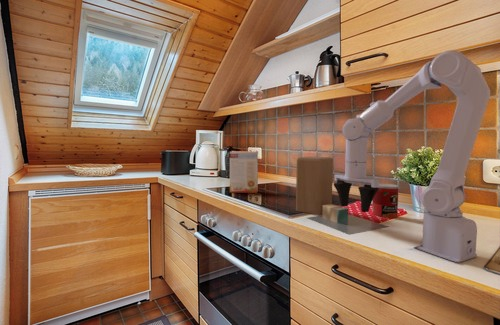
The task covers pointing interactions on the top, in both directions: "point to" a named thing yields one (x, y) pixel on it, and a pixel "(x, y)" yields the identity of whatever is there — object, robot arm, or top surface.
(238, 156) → the cracker box
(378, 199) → the canned food
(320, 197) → the block
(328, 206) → the beech block
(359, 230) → the slate board
